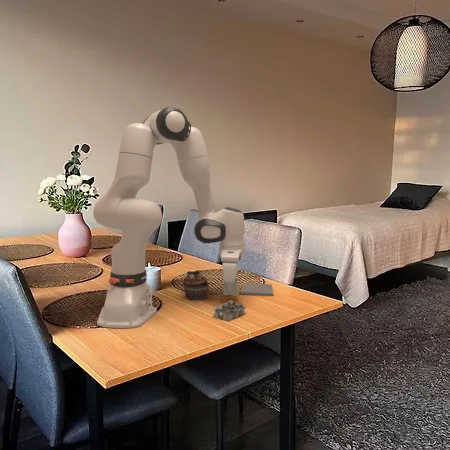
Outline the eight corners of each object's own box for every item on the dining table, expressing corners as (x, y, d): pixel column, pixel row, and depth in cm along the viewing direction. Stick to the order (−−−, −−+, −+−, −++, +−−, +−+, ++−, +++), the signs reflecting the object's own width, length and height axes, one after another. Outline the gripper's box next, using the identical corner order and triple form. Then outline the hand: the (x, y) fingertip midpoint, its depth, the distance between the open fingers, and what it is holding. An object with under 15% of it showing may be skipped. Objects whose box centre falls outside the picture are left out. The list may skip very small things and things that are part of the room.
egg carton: (227, 323, 148) (227, 311, 147) (210, 317, 153) (210, 305, 152) (248, 314, 156) (248, 302, 155) (231, 309, 161) (231, 297, 160)
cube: (237, 295, 166) (237, 282, 166) (223, 294, 167) (223, 281, 166) (237, 291, 171) (238, 278, 171) (224, 290, 172) (224, 277, 171)
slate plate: (273, 296, 175) (273, 293, 175) (241, 295, 175) (241, 292, 175) (271, 286, 187) (271, 284, 186) (242, 285, 187) (242, 283, 187)
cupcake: (191, 303, 166) (191, 276, 164) (179, 295, 174) (179, 270, 172) (213, 298, 171) (214, 272, 169) (201, 291, 179) (201, 267, 177)
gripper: (225, 246, 177) (224, 281, 179) (220, 257, 157) (219, 296, 159) (241, 247, 177) (240, 281, 179) (238, 258, 157) (237, 297, 159)
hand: (230, 288), depth 169 cm, fingers closed on cube, 5 cm apart
